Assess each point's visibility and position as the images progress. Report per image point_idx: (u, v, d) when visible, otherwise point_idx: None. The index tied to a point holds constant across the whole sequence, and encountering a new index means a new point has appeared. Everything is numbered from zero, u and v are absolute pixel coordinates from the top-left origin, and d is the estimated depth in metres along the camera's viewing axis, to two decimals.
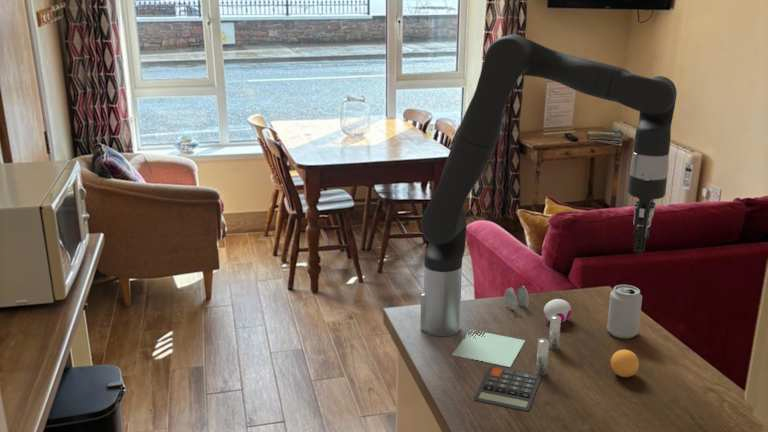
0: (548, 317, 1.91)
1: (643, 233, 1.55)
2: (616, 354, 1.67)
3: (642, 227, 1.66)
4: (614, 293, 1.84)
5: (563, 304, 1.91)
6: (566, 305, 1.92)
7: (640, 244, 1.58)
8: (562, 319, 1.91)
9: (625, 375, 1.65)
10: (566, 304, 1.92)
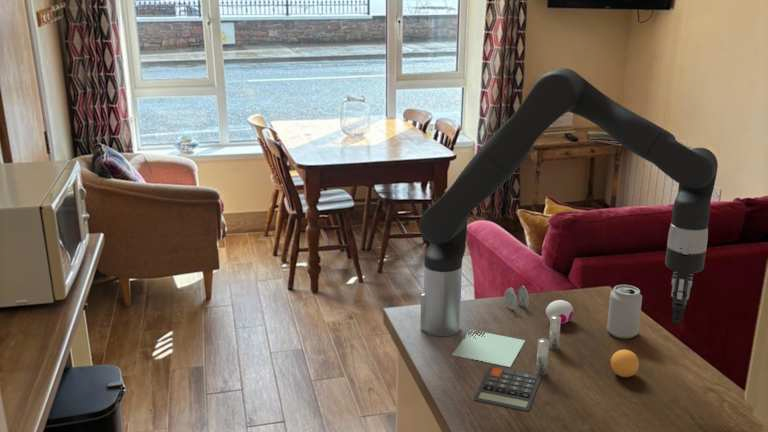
0: (550, 318, 1.91)
1: (682, 308, 1.55)
2: (616, 354, 1.67)
3: None
4: (614, 293, 1.84)
5: (565, 305, 1.91)
6: (568, 306, 1.91)
7: (679, 315, 1.58)
8: (564, 320, 1.90)
9: (625, 375, 1.65)
10: (568, 305, 1.91)
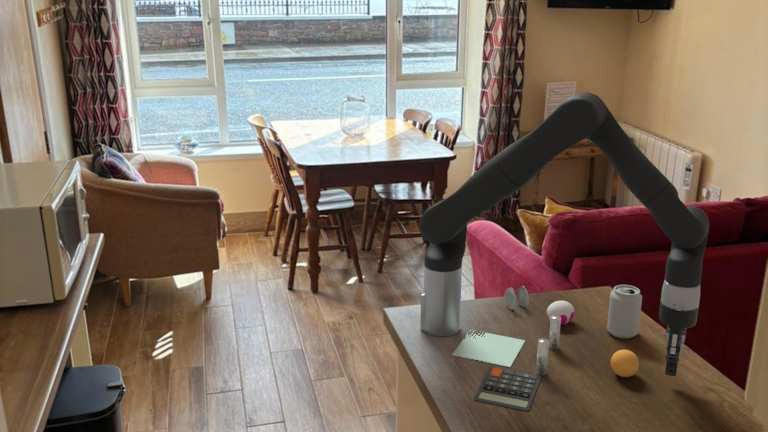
0: None
1: (676, 361, 1.59)
2: (616, 354, 1.67)
3: None
4: (614, 293, 1.84)
5: (566, 305, 1.90)
6: (569, 307, 1.91)
7: (672, 368, 1.62)
8: (565, 320, 1.90)
9: (625, 375, 1.65)
10: (569, 305, 1.91)
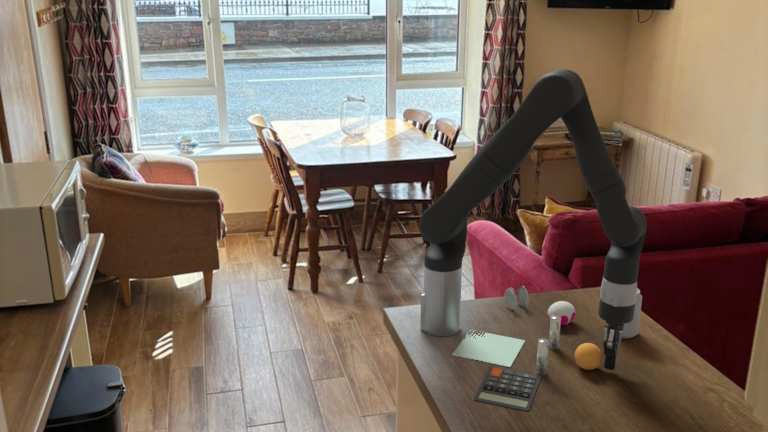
0: None
1: (613, 355, 1.65)
2: None
3: None
4: None
5: (567, 306, 1.90)
6: (570, 307, 1.90)
7: (611, 362, 1.67)
8: (566, 321, 1.90)
9: (590, 356, 1.67)
10: (570, 306, 1.91)
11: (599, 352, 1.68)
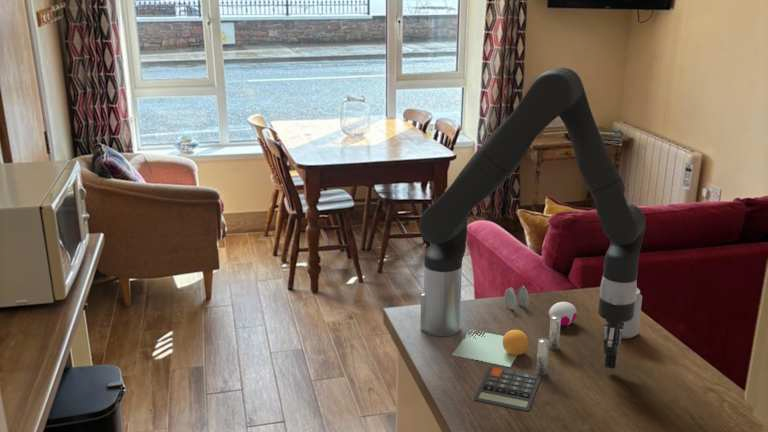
0: None
1: (613, 354, 1.64)
2: None
3: None
4: None
5: (568, 307, 1.90)
6: (571, 308, 1.90)
7: (611, 361, 1.67)
8: (567, 322, 1.89)
9: (519, 346, 1.74)
10: (571, 307, 1.90)
11: (527, 346, 1.75)
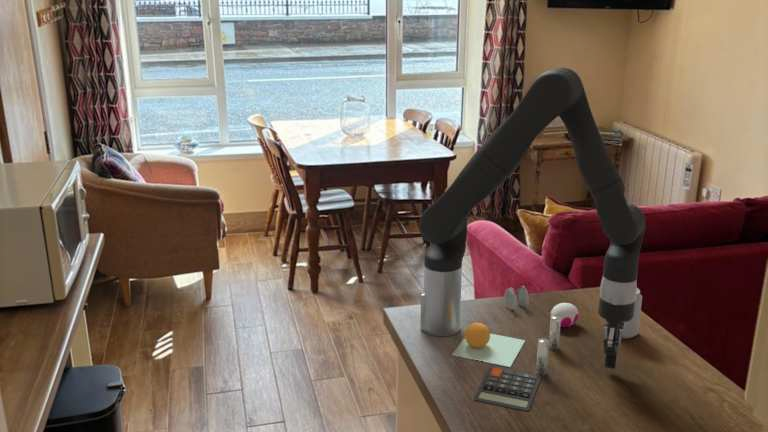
0: None
1: (613, 354, 1.64)
2: (485, 330, 1.78)
3: None
4: None
5: (570, 308, 1.89)
6: (573, 309, 1.89)
7: (611, 361, 1.67)
8: (569, 323, 1.89)
9: (468, 340, 1.79)
10: (573, 308, 1.90)
11: (465, 332, 1.81)
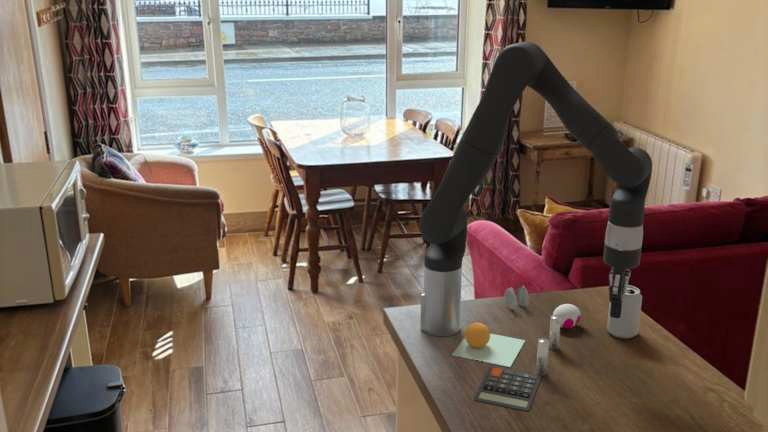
0: None
1: (619, 302, 1.60)
2: (485, 330, 1.78)
3: None
4: None
5: (572, 309, 1.89)
6: (575, 310, 1.89)
7: (616, 310, 1.63)
8: (571, 324, 1.88)
9: (468, 340, 1.79)
10: (575, 309, 1.89)
11: (465, 332, 1.81)
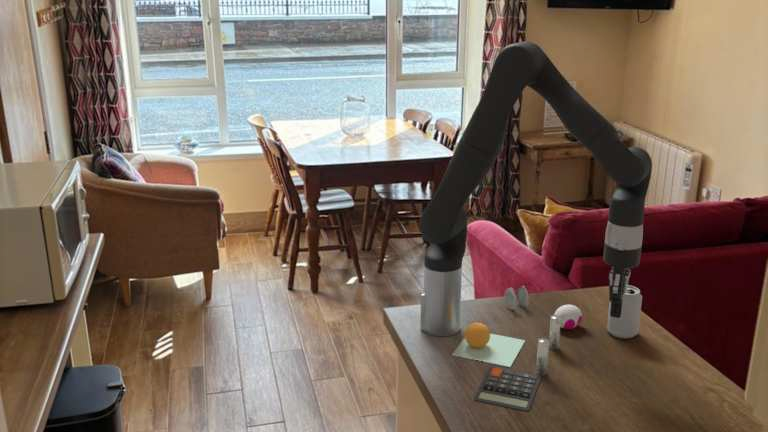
0: None
1: (619, 302, 1.60)
2: (485, 330, 1.78)
3: None
4: None
5: (574, 310, 1.88)
6: (577, 311, 1.88)
7: (617, 309, 1.63)
8: (573, 325, 1.88)
9: (468, 340, 1.79)
10: (577, 310, 1.89)
11: (465, 332, 1.81)
